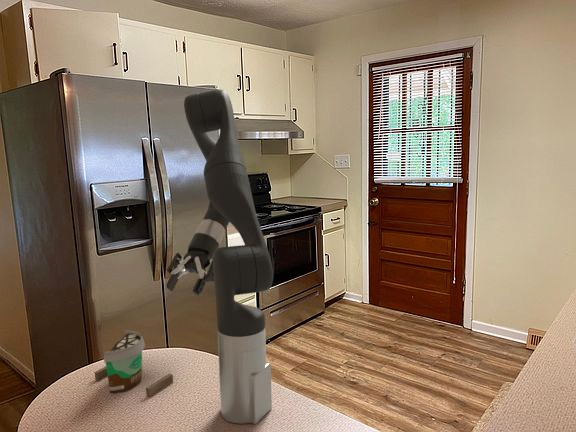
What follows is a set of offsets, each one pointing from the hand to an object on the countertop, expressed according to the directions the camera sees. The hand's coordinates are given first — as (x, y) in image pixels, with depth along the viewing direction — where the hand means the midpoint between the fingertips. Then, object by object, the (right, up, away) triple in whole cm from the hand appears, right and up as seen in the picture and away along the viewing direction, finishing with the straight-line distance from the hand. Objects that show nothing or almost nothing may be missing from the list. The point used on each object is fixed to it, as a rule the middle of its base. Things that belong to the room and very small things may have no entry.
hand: (182, 291), depth 113 cm
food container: (-8, -18, -14) cm, 24 cm away
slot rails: (-8, -18, -14) cm, 24 cm away
